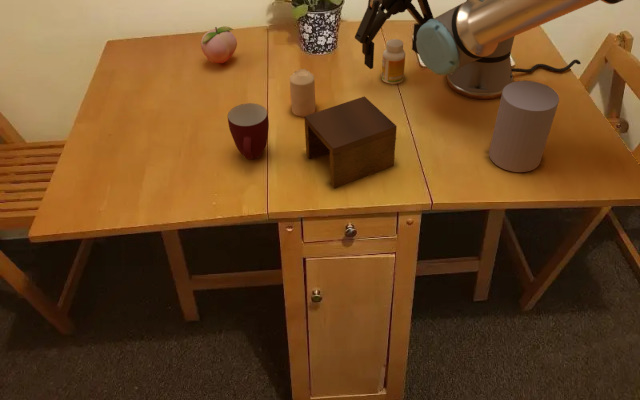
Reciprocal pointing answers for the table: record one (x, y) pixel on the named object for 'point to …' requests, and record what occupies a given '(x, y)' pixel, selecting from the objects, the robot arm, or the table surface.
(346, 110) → the shelf
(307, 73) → the candle
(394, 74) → the supplement bottle
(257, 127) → the mug
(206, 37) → the decorative fruit
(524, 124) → the container
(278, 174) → the table surface
